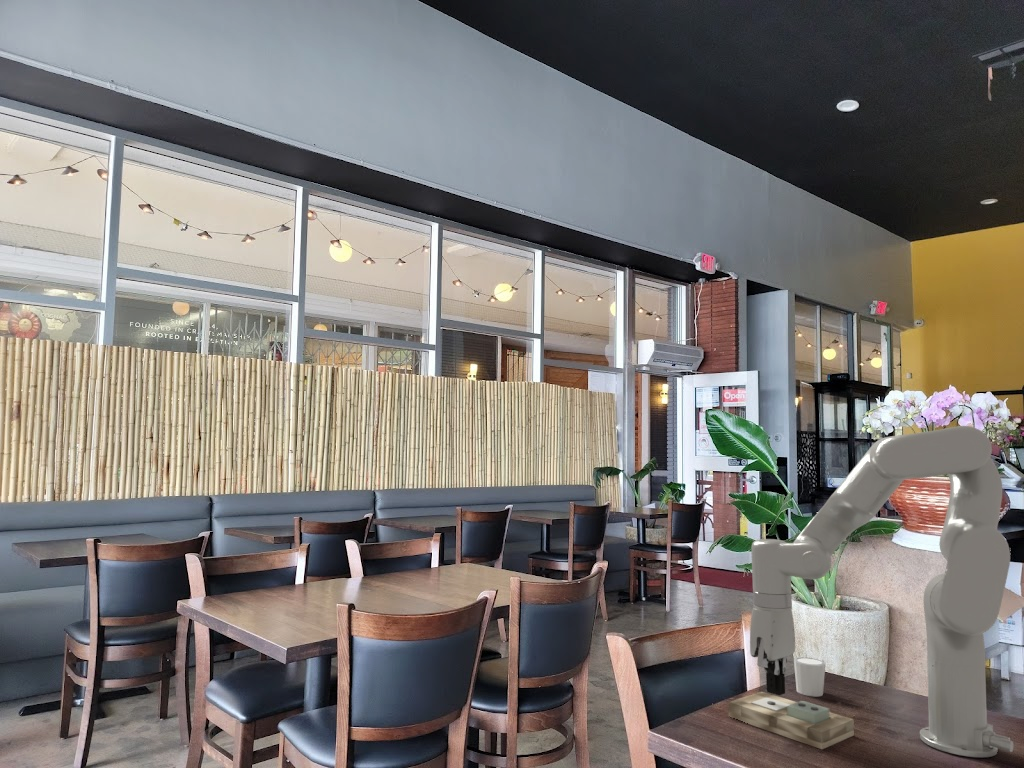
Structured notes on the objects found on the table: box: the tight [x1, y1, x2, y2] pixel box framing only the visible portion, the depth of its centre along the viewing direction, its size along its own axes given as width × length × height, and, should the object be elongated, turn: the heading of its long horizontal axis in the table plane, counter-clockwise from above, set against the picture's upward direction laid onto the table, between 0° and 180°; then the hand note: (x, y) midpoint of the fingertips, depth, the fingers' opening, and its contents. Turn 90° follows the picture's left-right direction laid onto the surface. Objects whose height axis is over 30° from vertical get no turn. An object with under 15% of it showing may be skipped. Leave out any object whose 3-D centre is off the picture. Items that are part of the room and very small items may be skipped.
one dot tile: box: [751, 697, 790, 712], centre depth 149 cm, size 6×6×2 cm
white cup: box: [793, 657, 826, 698], centre depth 168 cm, size 7×7×7 cm
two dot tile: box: [787, 700, 830, 724], centre depth 143 cm, size 6×6×2 cm
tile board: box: [728, 691, 855, 750], centre depth 146 cm, size 20×12×3 cm, turn 39°
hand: (776, 692), depth 149 cm, fingers closed
